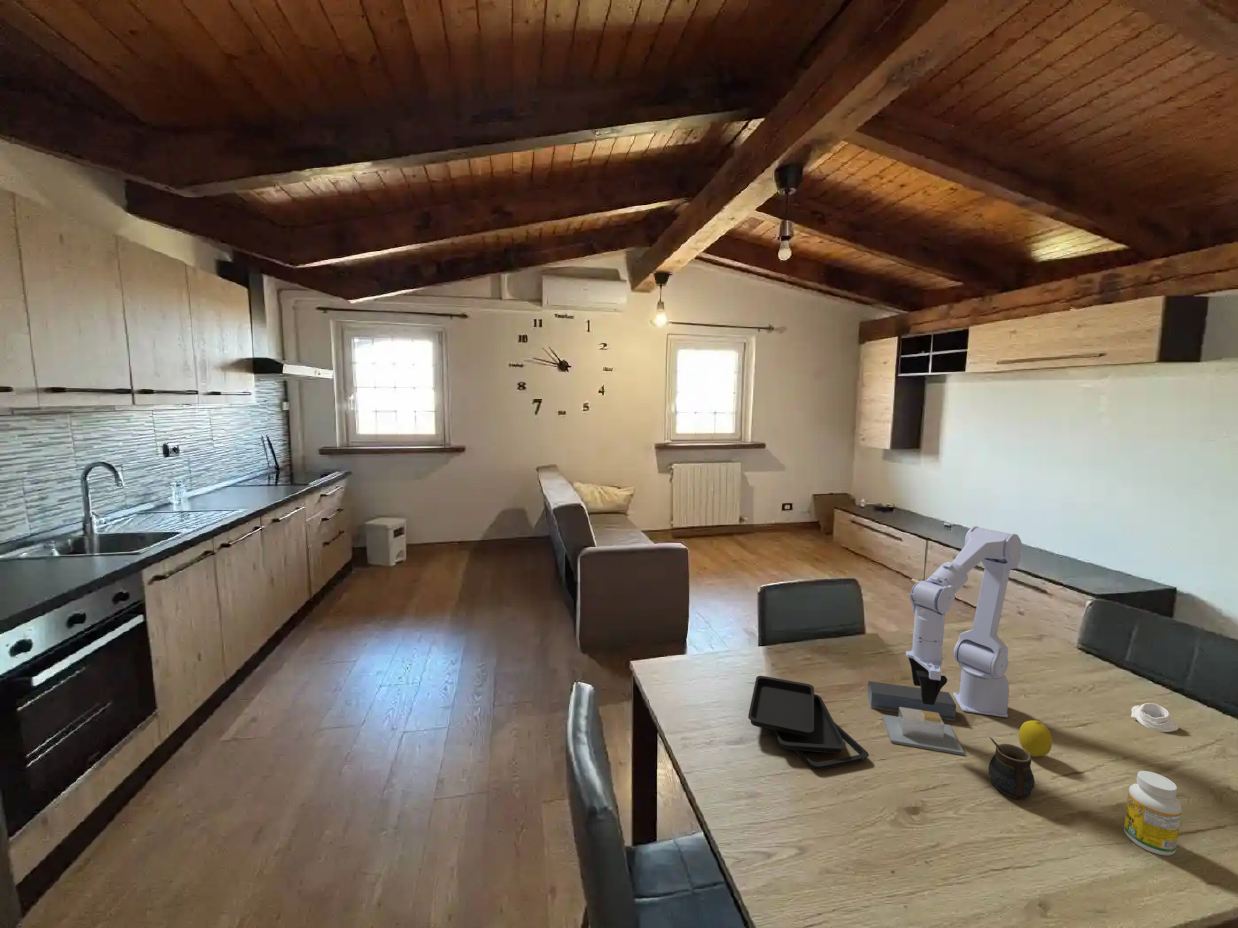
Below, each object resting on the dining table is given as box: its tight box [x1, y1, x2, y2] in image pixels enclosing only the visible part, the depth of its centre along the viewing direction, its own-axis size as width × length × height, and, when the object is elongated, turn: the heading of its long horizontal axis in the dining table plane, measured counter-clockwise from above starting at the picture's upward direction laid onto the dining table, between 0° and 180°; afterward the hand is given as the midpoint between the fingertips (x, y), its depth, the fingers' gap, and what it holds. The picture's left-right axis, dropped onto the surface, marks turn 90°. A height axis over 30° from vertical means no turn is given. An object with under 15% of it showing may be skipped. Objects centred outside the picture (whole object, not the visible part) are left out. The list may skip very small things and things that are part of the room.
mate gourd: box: [988, 736, 1036, 800], centre depth 102 cm, size 7×8×10 cm
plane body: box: [866, 680, 957, 722], centre depth 130 cm, size 18×6×4 cm, turn 73°
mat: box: [882, 714, 965, 756], centre depth 119 cm, size 14×10×1 cm
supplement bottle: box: [1123, 770, 1182, 856], centre depth 90 cm, size 6×6×11 cm
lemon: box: [1018, 719, 1053, 758], centre depth 112 cm, size 6×6×8 cm
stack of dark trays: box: [747, 675, 870, 771], centre depth 121 cm, size 30×23×5 cm
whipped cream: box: [1130, 702, 1180, 733], centre depth 124 cm, size 8×7×5 cm
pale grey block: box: [897, 707, 945, 742], centre depth 119 cm, size 8×5×5 cm, turn 74°
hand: (923, 694), depth 119 cm, fingers open, 7 cm apart
